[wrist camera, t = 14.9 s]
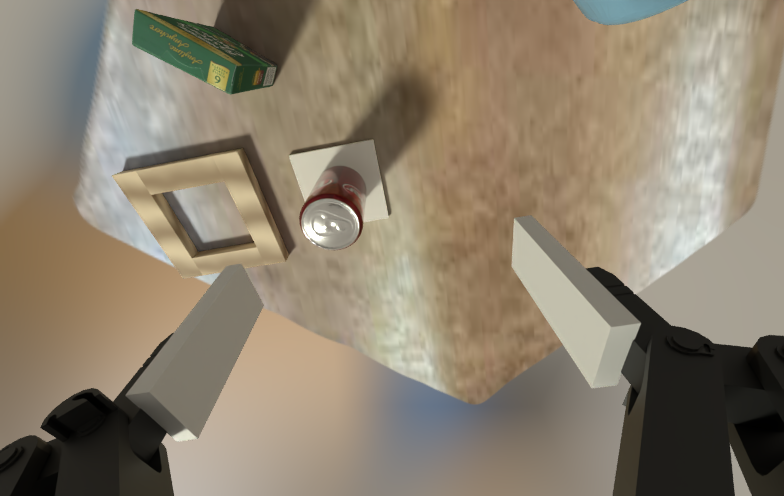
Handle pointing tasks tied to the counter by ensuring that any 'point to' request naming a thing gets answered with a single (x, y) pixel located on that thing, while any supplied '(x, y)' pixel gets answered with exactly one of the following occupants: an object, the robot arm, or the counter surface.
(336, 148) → the tile
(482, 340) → the counter surface
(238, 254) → the well board
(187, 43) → the coffee box
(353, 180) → the soda can
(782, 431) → the robot arm
